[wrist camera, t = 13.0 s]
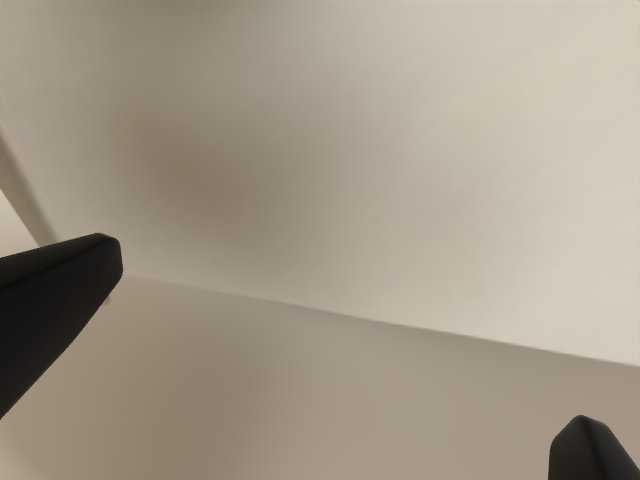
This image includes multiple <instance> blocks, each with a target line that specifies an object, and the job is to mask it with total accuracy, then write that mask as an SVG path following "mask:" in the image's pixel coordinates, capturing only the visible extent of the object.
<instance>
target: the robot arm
mask: <svg viewBox="0 0 640 480" xmlns="http://www.w3.org/2000/svg"><path fill="white" fill-rule="evenodd" d="M122 274H123V264H122V255H121V247H120V243H119V241H118V240H117V239H116V238H113V237H110V236H108V235H105V234H102V233H94V234H90V235H87V236H83V237H79V238H75V239H71V240H67V241H63V242H60V243H56V244H52V245H48V246H44V247H40V248H36V249H33V250H29V251H25V252H21V253H17V254H13V255H9V256H6V257H2V258H0V420H1V418H2V417H3V416H4V415H5V414H6V413H7V412H8V411H9V410H10V409H11V408H12V407H13V405H14V404H15V403H16V402H17V401H18V400H19V399H20V398H21V397H22V396H23V395H24V394H25V393H26V391H27V390H28V389H29V388H30V387H31V386H32V385H33V384H34V383H35V382H36V381H37V380H38V379H39V377H40V376H41V375H42V374H43V373H44V372H45V371H46V370H47V369H48V368H49V367H50V366H51V365H52V364H53V362H54V361H55V360H56V359H57V358H58V357H59V356H60V355H61V354H62V353H63V352H64V351H65V350H66V348H67V347H68V346H69V345H70V344H71V343H72V342H73V340H74V339H75V338H76V337H77V336H78V334H79V333H80V332H81V331H82V329H83V328H84V327H85V325H86V324H87V323H88V321H89V320H90V319H91V318H92V316H93V315H94V314H95V312H96V311H97V310H98V308H99V307H100V306H101V304H102V303H103V302H104V300H105V299H106V298H107V297H108V295H109V294H110V293H111V291H112V290H113V289H114V287H115V286H116V284H117V283H118V282H119V280H120V279H121V276H122ZM548 480H640V470H639V469H638V467H637V466H636V465H635V463H634V462H633V461H632V459H631V458H630V456H629V455H628V453H627V452H626V451H625V449H624V448H623V446H622V445H621V444H620V442H619V441H618V439H617V438H616V437H615V435H614V434H613V433H612V431H611V430H610V429H609V427H608V426H607V425H605V424H604V423H602V422H599V421H597V420H594V419H592V418H589V417H586V416H584V415H578V416H576V417H575V418H573V419H572V420H571V421H570V422H569V423H568V425H567V426H566V427H565V428H564V429H563V430H562V431H561V432H560V433H559V434H558V435H557V436H556V437H555V439H554V440H553V442H552V444H551V448H550V456H549V472H548Z"/></svg>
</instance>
